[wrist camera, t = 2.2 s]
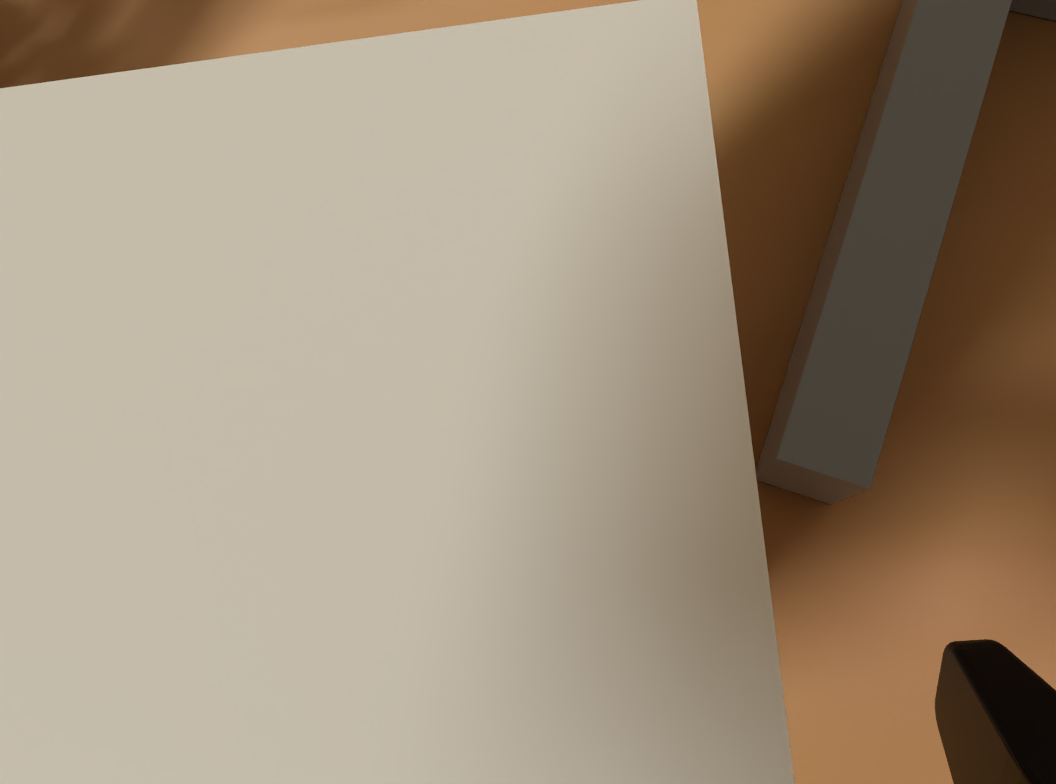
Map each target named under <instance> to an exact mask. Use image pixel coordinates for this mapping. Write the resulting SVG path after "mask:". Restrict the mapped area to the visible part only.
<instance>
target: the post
mask: <svg viewBox="0 0 1056 784" xmlns="http://www.w3.org/2000/svg"><path fill="white" fill-rule="evenodd" d="M0 784H795V783H794V775H793V767H792V759H791V751H790V743H789V735H788V727H787V719H786V711H785V703H784V695H783V687H782V679H781V671H780V663H779V655H778V647H777V639H776V631H775V623H774V615H773V607H772V599H771V591H770V583H769V575H768V567H767V559H766V551H765V543H764V535H763V527H762V519H761V511H760V503H759V495H758V487H757V479H756V471H755V463H754V455H753V447H752V439H751V431H750V423H749V415H748V407H747V399H746V391H745V383H744V375H743V367H742V359H741V351H740V343H739V335H738V327H737V319H736V311H735V303H734V295H733V287H732V280H731V272H730V264H729V256H728V248H727V240H726V232H725V224H724V216H723V208H722V200H721V192H720V184H719V176H718V168H717V160H716V152H715V144H714V136H713V128H712V120H711V112H710V104H709V96H708V88H707V80H706V72H705V64H704V56H703V48H702V40H701V32H700V24H699V16H698V8H697V0H640V1H633V2H625V3H618V4H611V5H603V6H596V7H589V8H582V9H574V10H567V11H560V12H553V13H545V14H538V15H531V16H524V17H516V18H509V19H502V20H494V21H487V22H480V23H473V24H465V25H458V26H451V27H444V28H436V29H429V30H422V31H414V32H407V33H400V34H393V35H385V36H378V37H371V38H364V39H356V40H349V41H342V42H334V43H327V44H320V45H313V46H305V47H298V48H291V49H284V50H276V51H269V52H262V53H254V54H247V55H240V56H233V57H225V58H218V59H211V60H204V61H196V62H189V63H182V64H174V65H167V66H160V67H153V68H145V69H138V70H131V71H124V72H116V73H109V74H102V75H94V76H87V77H80V78H73V79H65V80H58V81H51V82H44V83H36V84H29V85H22V86H14V87H7V88H0Z"/></svg>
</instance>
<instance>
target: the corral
mask: <svg viewBox="0 0 1056 784" xmlns="http://www.w3.org/2000/svg"><path fill="white" fill-rule="evenodd" d="M1009 11H1014V12H1018V13H1023V14H1027V15H1032V16H1036V17H1040V18H1045V19H1049V20H1054V21H1056V0H902V4H901V7H900V10H899V13H898V16H897V20H896V23H895V26H894V29H893V32H892V36H891V39H890V42H889V45H888V48H887V52H886V55H885V58H884V61H883V65H882V68H881V71H880V74H879V77H878V81H877V84H876V87H875V90H874V93H873V97H872V100H871V103H870V106H869V109H868V113H867V116H866V119H865V122H864V125H863V129H862V132H861V135H860V138H859V141H858V145H857V148H856V151H855V154H854V158H853V161H852V164H851V167H850V170H849V174H848V177H847V180H846V183H845V186H844V190H843V193H842V196H841V199H840V202H839V206H838V209H837V212H836V215H835V218H834V222H833V225H832V228H831V231H830V234H829V238H828V241H827V244H826V247H825V251H824V254H823V257H822V260H821V263H820V267H819V270H818V273H817V276H816V279H815V283H814V286H813V289H812V292H811V295H810V299H809V302H808V305H807V308H806V311H805V315H804V318H803V321H802V324H801V327H800V331H799V334H798V337H797V340H796V344H795V347H794V350H793V353H792V356H791V360H790V363H789V366H788V369H787V372H786V376H785V379H784V382H783V385H782V388H781V392H780V395H779V398H778V401H777V404H776V408H775V411H774V414H773V417H772V420H771V424H770V427H769V430H768V433H767V437H766V440H765V443H764V446H763V449H762V453H761V456H760V459H759V462H758V465H757V469H756V479H757V480H758V481H761V482H764V483H767V484H770V485H773V486H776V487H779V488H782V489H785V490H788V491H791V492H794V493H797V494H800V495H803V496H806V497H809V498H812V499H815V500H818V501H821V502H824V503H827V504H830V505H831V504H833V503H836V502H838V501H841V500H843V499H846V498H848V497H851V496H853V495H856V494H859V493H861V492H864V491H866V490H869V489H870V488H871V484H872V481H873V477H874V474H875V470H876V467H877V463H878V460H879V457H880V453H881V450H882V446H883V443H884V439H885V436H886V432H887V429H888V426H889V422H890V419H891V415H892V412H893V408H894V405H895V401H896V398H897V395H898V391H899V388H900V384H901V381H902V377H903V374H904V370H905V367H906V364H907V360H908V357H909V353H910V350H911V346H912V343H913V339H914V336H915V333H916V329H917V326H918V322H919V319H920V315H921V312H922V308H923V305H924V302H925V298H926V295H927V291H928V288H929V284H930V281H931V277H932V274H933V271H934V267H935V264H936V260H937V257H938V253H939V250H940V246H941V243H942V240H943V236H944V233H945V229H946V226H947V222H948V219H949V215H950V212H951V209H952V205H953V202H954V198H955V195H956V191H957V188H958V184H959V181H960V178H961V174H962V171H963V167H964V164H965V160H966V157H967V153H968V150H969V147H970V143H971V140H972V136H973V133H974V129H975V126H976V122H977V119H978V116H979V112H980V109H981V105H982V102H983V98H984V95H985V91H986V88H987V85H988V81H989V78H990V74H991V71H992V67H993V64H994V60H995V57H996V54H997V50H998V47H999V43H1000V40H1001V36H1002V33H1003V29H1004V26H1005V23H1006V19H1007V16H1008V12H1009Z"/></svg>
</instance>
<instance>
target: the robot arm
mask: <svg viewBox="0 0 1056 784" xmlns="http://www.w3.org/2000/svg"><path fill="white" fill-rule="evenodd" d="M935 713H936V720H937V725H938V729H939V733H940V736H941V740H942V743H943V747H944V751H945V754H946V758H947V761H948V765H949V768H950V772H951V775H952V779H953V782H954V784H1056V690H1055V689H1053V688H1052V687H1051V686H1050V685H1049V684H1048V683H1047V682H1045V681H1044V680H1043V679H1042V678H1041V677H1040V676H1038V675H1037V674H1036V673H1035V672H1034V671H1033V670H1031V669H1030V668H1029V667H1028V666H1027V665H1026V664H1024V663H1023V662H1022V661H1021V660H1020V659H1019V658H1018V657H1016V656H1015V655H1014V654H1013V653H1012V652H1011V651H1009V650H1008V649H1007V648H1006V647H1005V646H1003V645H1002V644H1000V643H998V642H996V641H994V640H987V639H984V640H969V641H954V642H951V643H949V644H948V645H947V646H946V647H945V649H944V652H943V657H942V663H941V669H940V674H939V680H938V686H937V692H936V698H935Z"/></svg>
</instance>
